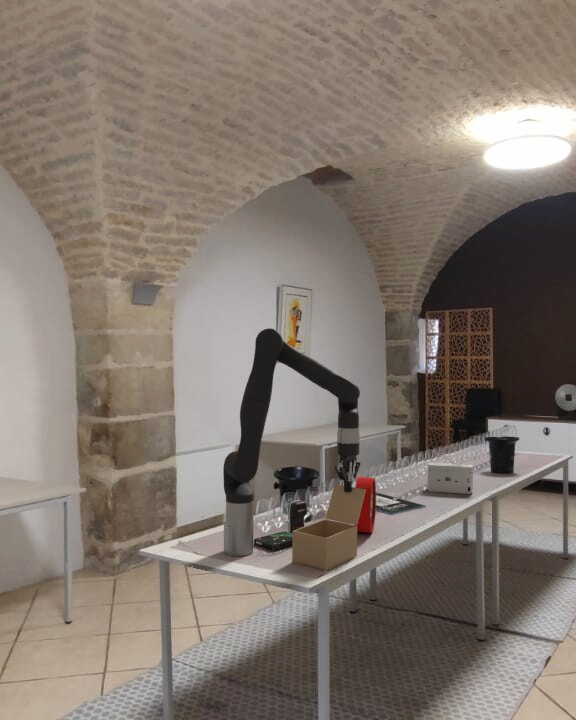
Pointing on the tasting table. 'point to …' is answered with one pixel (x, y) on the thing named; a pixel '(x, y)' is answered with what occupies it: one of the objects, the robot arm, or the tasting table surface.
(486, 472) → the tasting table surface
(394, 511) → the sketchbook
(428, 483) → the stereo radio cassette player
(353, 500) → the carton flap
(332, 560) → the carton
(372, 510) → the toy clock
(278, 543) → the disk drive
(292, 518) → the battery
